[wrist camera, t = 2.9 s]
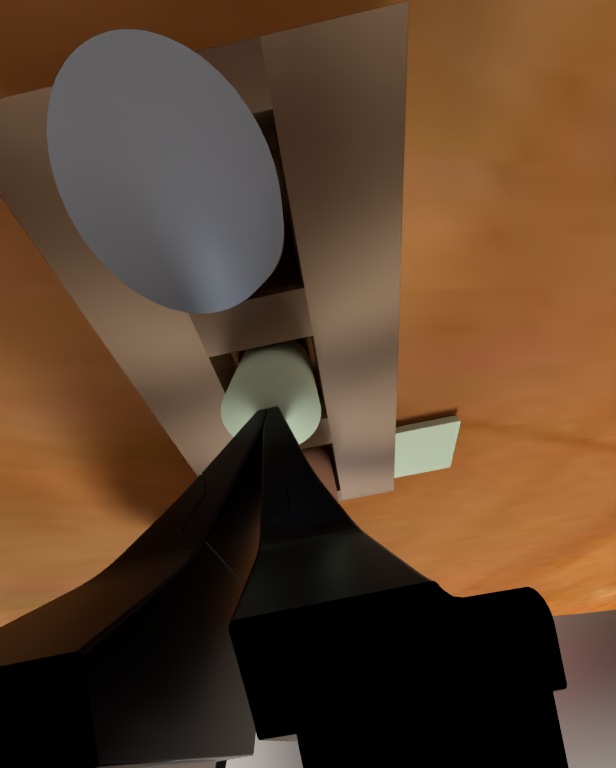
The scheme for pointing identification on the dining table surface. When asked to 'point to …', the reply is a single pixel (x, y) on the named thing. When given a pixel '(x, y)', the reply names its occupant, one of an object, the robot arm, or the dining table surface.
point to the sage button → (274, 389)
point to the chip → (425, 446)
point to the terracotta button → (322, 467)
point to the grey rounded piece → (164, 171)
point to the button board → (310, 235)
